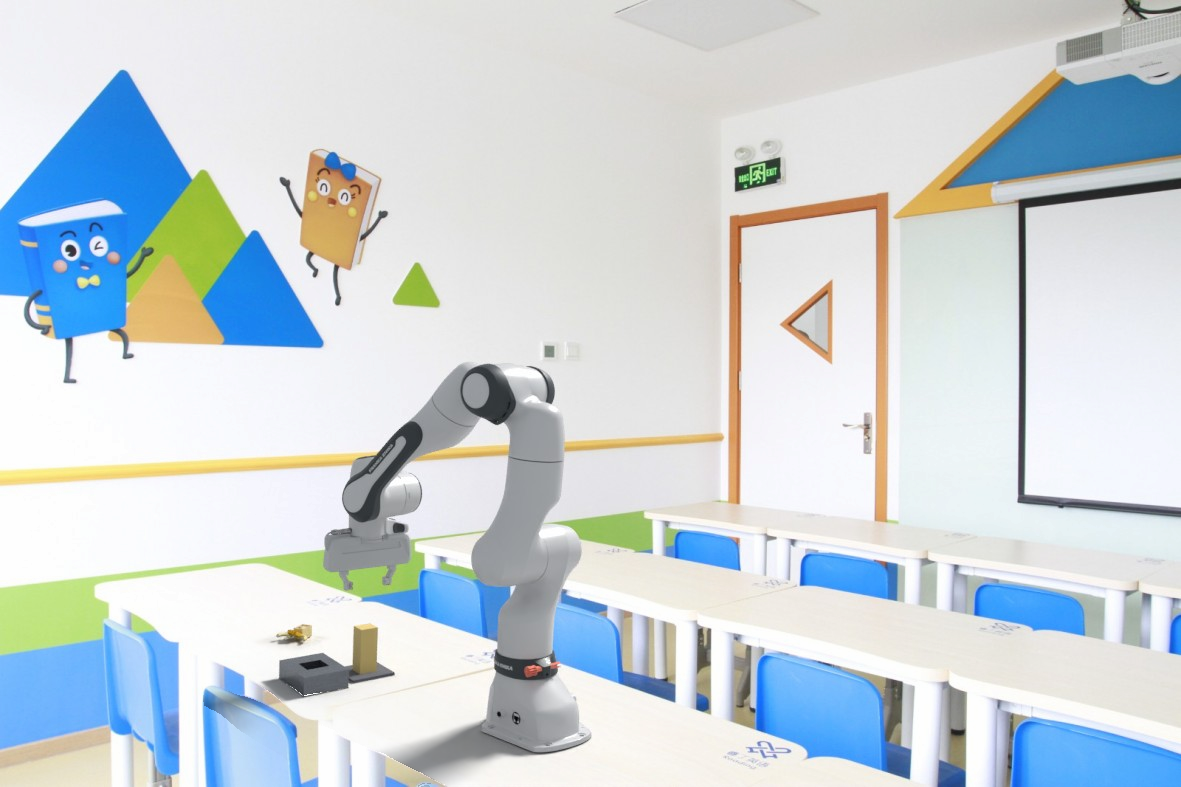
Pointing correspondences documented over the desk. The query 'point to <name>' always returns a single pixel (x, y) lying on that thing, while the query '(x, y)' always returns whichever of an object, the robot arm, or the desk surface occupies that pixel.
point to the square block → (365, 648)
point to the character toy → (298, 632)
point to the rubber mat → (369, 674)
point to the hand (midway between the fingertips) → (367, 587)
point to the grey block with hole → (313, 674)
